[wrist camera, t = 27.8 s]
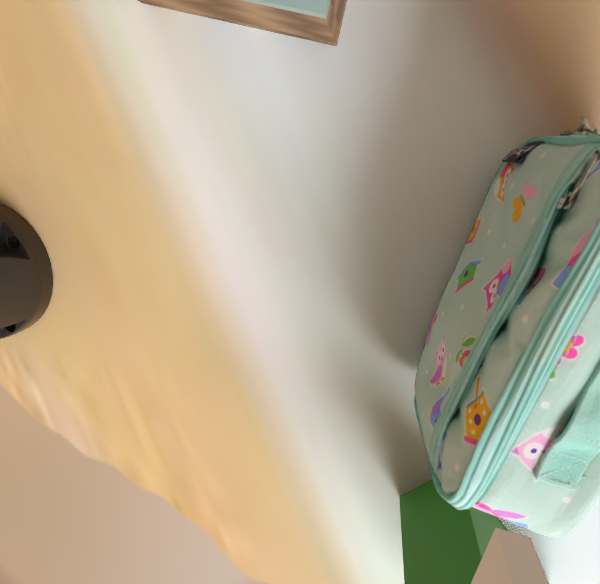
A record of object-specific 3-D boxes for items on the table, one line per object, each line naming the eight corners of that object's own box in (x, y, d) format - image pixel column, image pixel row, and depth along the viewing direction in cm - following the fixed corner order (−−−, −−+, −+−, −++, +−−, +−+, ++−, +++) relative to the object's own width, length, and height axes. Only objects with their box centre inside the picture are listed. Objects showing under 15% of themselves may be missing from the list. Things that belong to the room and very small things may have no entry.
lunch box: (507, 115, 41) (632, 79, 21) (627, 150, 40) (877, 148, 20) (400, 382, 49) (415, 543, 29) (498, 415, 49) (584, 603, 28)
